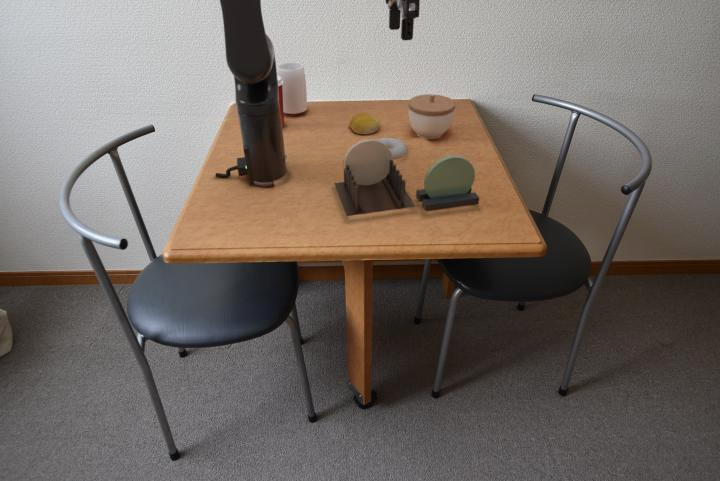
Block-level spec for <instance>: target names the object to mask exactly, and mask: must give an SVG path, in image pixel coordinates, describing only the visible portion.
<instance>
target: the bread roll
mask: <svg viewBox="0 0 720 481" xmlns="http://www.w3.org/2000/svg"><path fill="white" fill-rule="evenodd" d="M348 125H349V128H350V129H351V130H352V131H353V132H354V133H355V134H358V135H371V134H374V133H376V132H377V131H378V130H379V128H380V122H379V121H378V120H377V119H376V118H375V117H374V116H373V115H372V114H370V113H366V112H360V113H359V112H358V113H356V114H354V115H353V116H352V117H351V118H350V119H349V122H348Z"/></svg>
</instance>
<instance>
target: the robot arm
mask: <svg viewBox="0 0 720 481" xmlns="http://www.w3.org/2000/svg"><path fill="white" fill-rule="evenodd" d="M219 3H220V9H221V14H222V22H223V34H224V46H225V48H224V49H225V60H226V64H227V68H228V69H229V71H230V72H231V74H232V75H233V80H234V89H235V90H234V91H235V92H234V93H235V107H236V111H237V117H238V123H239V129H240V135H241V140H242V148H243V149H242V150H243V155H244V156H243V157H236V165H234V166H230V167H228V168H227V169H225V173H221V172H216V173H215V177H216V178H225V179H227V178H229V177H231V175H232V173H231V172H233V171H237V174H238V177H245V176H247V179H248V184H249V186H256V187H266V188H267V187H274V186H275V181H278V180H280V179H282V178H284V177H285V176H286V175H287V173H288V166H287V155H286V150H285V142H284V140H285V139H284V133H283V132H284V131H283V128H282V123H281V114H280V105H279V91H278V80H277V60H276V53H275V48H274V44H273V42H272V40H271V38H270V37H269V36H268V35H267V32H266V28H265V23H264V18H263V12H262V0H219ZM385 4H386V5H387V9H388V29H389V30H391V31H394V30H395V31H396V30H397V31H398V30H400V39H401V40H402V41H412V40H413V38H414V24H415V23H414V22H415V19H416V18H419V17H420V4H421V0H385Z"/></svg>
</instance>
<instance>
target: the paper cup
mask: <svg viewBox="0 0 720 481" xmlns="http://www.w3.org/2000/svg"><path fill="white" fill-rule="evenodd" d="M277 80H278V91H279V105H280V114H281V123H282V129H283V128H284V127H285V113H284V110H283V90H282V84H283V81H282V79H281V77H280V76H277Z"/></svg>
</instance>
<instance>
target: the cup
mask: <svg viewBox="0 0 720 481" xmlns="http://www.w3.org/2000/svg"><path fill="white" fill-rule="evenodd" d="M276 70H277V76H280V77H281V79H282V81H283V84H282V90H283V110H284V114H289V115H290V114H292V115H294V114H301V113H304V112H306V111H307V110H308V95H307V94H308V93H307V80H306V73H305V66H304V64H303V63H301V62H296V61H287V62H286V61H285V62H282V63H278V64H277V65H276Z"/></svg>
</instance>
